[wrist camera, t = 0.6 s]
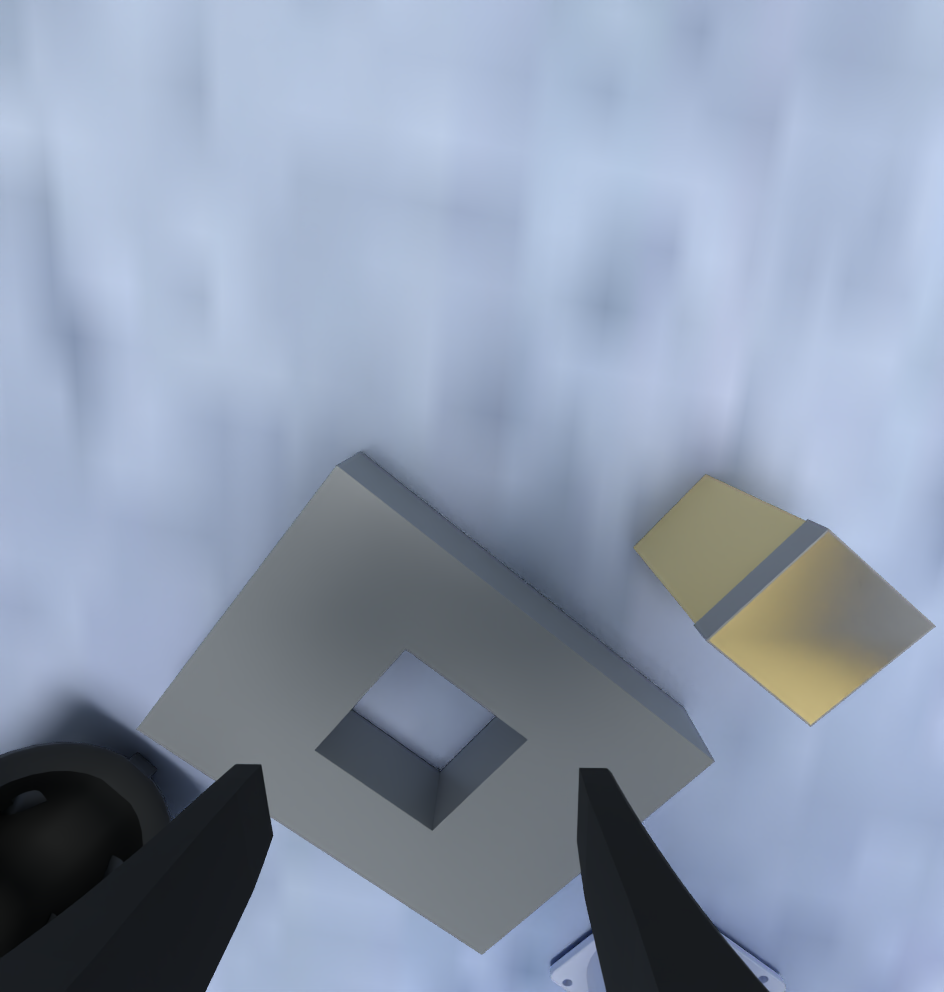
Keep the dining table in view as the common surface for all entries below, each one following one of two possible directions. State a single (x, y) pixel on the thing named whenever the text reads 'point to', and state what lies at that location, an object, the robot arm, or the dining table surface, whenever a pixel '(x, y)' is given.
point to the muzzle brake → (67, 827)
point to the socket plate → (458, 658)
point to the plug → (779, 596)
